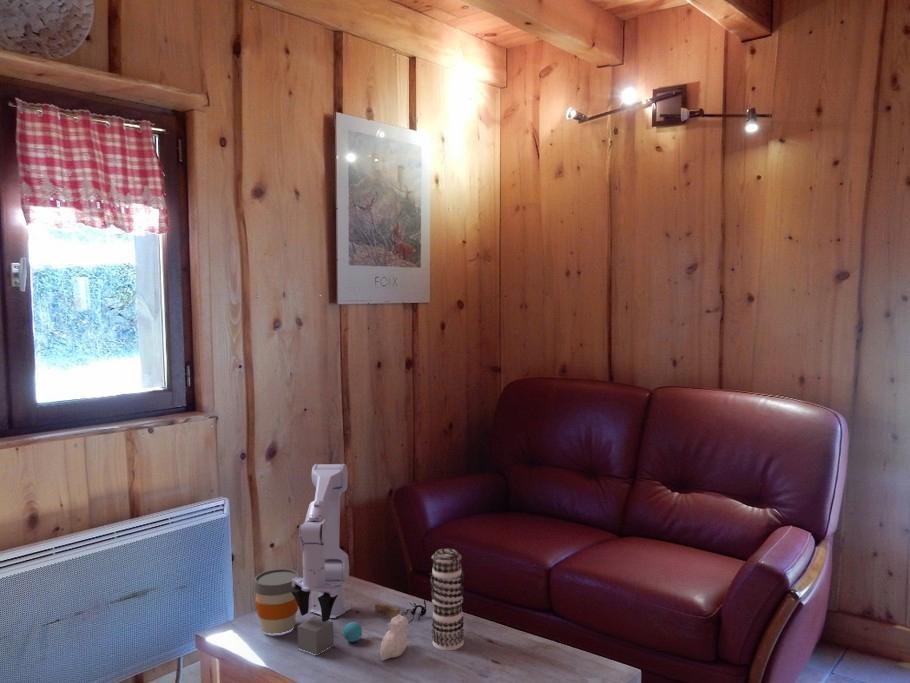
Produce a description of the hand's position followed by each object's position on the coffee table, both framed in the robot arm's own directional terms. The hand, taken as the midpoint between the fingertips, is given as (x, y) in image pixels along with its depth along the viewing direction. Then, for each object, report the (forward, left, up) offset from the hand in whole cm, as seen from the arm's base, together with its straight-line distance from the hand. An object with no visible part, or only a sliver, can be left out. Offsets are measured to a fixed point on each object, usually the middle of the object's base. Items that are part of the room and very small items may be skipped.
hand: (315, 617), depth 187 cm
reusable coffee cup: (-17, +3, -9) cm, 19 cm away
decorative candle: (+29, +20, -9) cm, 36 cm away
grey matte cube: (0, 0, -8) cm, 8 cm away
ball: (+6, +8, -6) cm, 12 cm away
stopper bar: (+4, +26, -8) cm, 27 cm away
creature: (+12, +28, -9) cm, 32 cm away
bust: (+20, +8, -9) cm, 23 cm away
